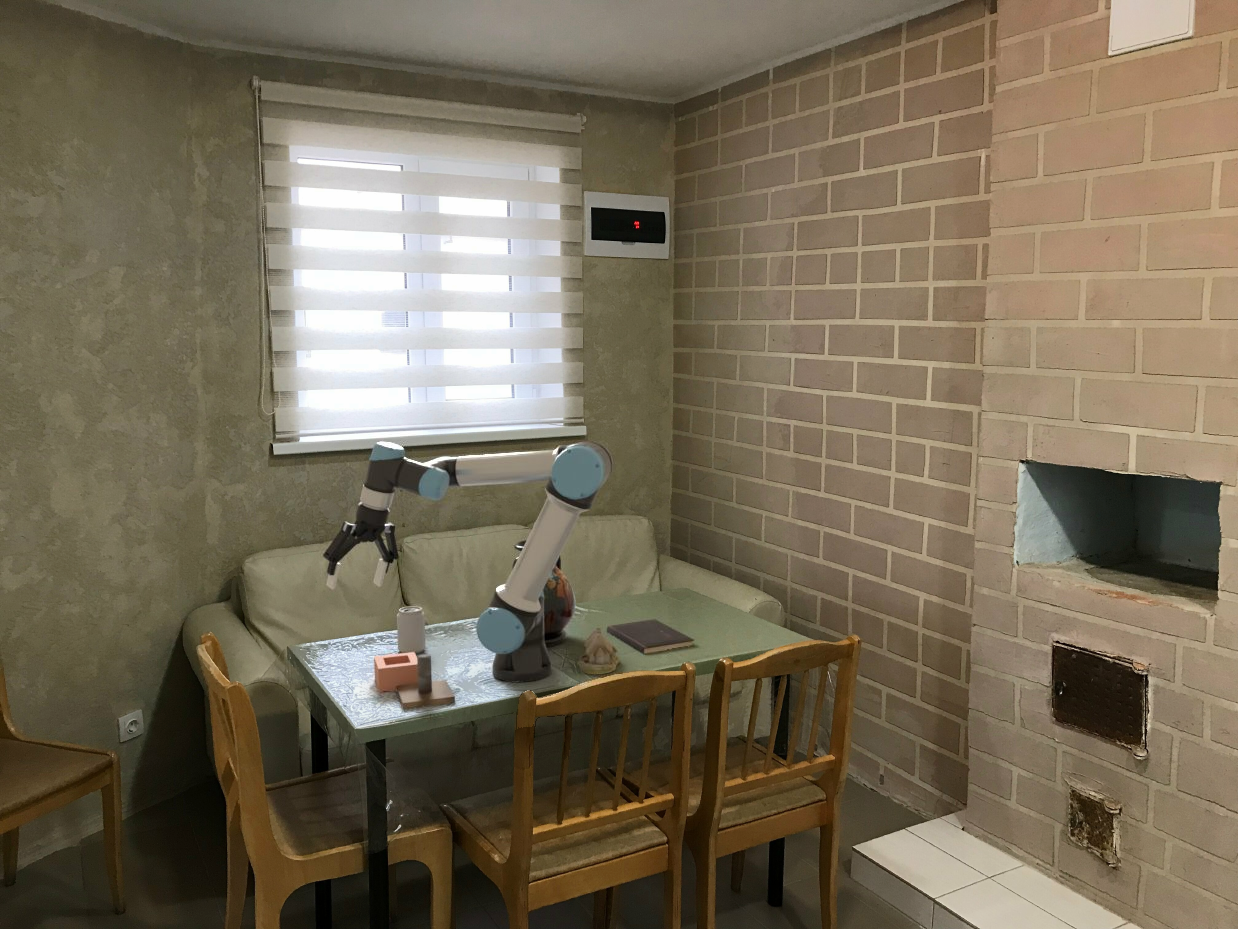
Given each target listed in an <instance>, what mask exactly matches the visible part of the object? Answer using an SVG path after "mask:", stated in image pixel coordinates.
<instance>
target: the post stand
mask: <svg viewBox="0 0 1238 929" xmlns="http://www.w3.org/2000/svg"><path fill="white" fill-rule="evenodd" d="M416 656H417V666H418V684H409V685H401V686H396V689H397V691H396V694H397V697H398V699H400V700H399V702H400V704H402V705H401V707H403V708H402V709H403V710H408V708H410V709H417V708H423V707H422V706H425V707H433V706H438V705H445V704H446V705H447V704H448V705H449V704H452V702H455V703H456V696H455V694H454V693H453V690H452V689H451V687H450V685H449V683H448V681H447V680H446V679H443V680H435V681H434V680H432V678H433V677H432V675H433V674H432V656H431V654H419V655H416ZM415 707H416V708H415ZM405 708H407V709H405Z"/></svg>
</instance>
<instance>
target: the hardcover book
mask: <svg viewBox="0 0 1238 929" xmlns="http://www.w3.org/2000/svg"><path fill="white" fill-rule="evenodd" d="M606 633H607V634H609V633H610V634H609V635H611V636H613V637H614V636H615V637H614V638H616V639H618V640H619V639H620V640H619V641H621V642H622V643H624V644H626V645H627V646H628V647H631V648H632V647H633V649H634V650H635V651H638V652H639V653H641V654H643V655H644V654H650V653H656V652H657V653H658V652H661V651H668V650H667V649H669V650H673V649H672V648H676V649H678V648H677V647H682V648H684V647H683V646H687V645H688V647H690V646H689V645H692V646H693V642H694V641H695V639H694V638H691V637H690V636H688V635H686V634H684V633H683V632H680V631H678V630H676V629H674V628H672V627H671V626H669V625H667V624H665V623H663V622H661V621H659V620H657V619H655V618H654V619H647V620H639V621H633V622H626V623H619V624H612V625H608V626H607V627H606Z"/></svg>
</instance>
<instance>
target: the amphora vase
mask: <svg viewBox="0 0 1238 929" xmlns="http://www.w3.org/2000/svg"><path fill="white" fill-rule="evenodd" d="M526 541H527V539H526V540H521V541H517V542H516V543H514V544H513V549H514V550H515V551H517V552H519V554H520V553H521V551H522V549H523V547H524V545H525V543H526ZM518 558H519V556H518V557H515V559H514V560H513V562H512V568H511V571H512V570H513V568H514V566H515V564H516V562H517V560H518ZM508 578H509V576H508V577H507V579H506V581H505V583H504V584H506V582H507V580H508ZM543 593H544V642H545V645H546V648H547V647H553V646H556V645H559V644H561V643H563V642H564V641H565V640H566V639H567V638H568V637H567V636H568V633H567V631H566V630H565V629H566V628H567V627H568V626H569V624H571V622H572V620H573V619H574V615H575V613H576V596H575V591H574V589H573V586H572V584H571V581H570V580H569V578H568V577H567V576H566V575H565V573H564V572H563V571H562V559H561V555H560V556H559V558H558V560H557V562H556V564H555V566H554V568H553V570H552V572H551V574H550V576H549V578H548V580H547V582H546V584H545V586H544V588H543Z"/></svg>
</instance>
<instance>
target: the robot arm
mask: <svg viewBox="0 0 1238 929" xmlns="http://www.w3.org/2000/svg"><path fill="white" fill-rule="evenodd" d="M405 453H406V450H405V448H404V447H402V446H401V445H399V444H396V443H393V442H387V441H379V442H376V443H375V444H374V445H373V447H372V451H371V453H370V457H369V459H368V466H367V469H366V474H365V478H364V482H363V485H362V486H363V487H362V490H361V494H360V498H359V501H360V502H358V505H357V509H356V513H355V522H353V523H349V522H348V521H344V522H343V523H342V525H341V528H340V531H339V532H338V533H337V534H336V536H335V538H334V539H333V540H332V541H331V543H330V544H329V546H328V547H327V549H326V550H325V551H324V552H323V554H322V557H323V558H324V559H325V560H327V561H328V565H327V570H326V574H327V575H328V576H327V579H326V583H325V585H326V586H327V587H328V588H329V589H331V590H336V585H337V581H338V577H339V573H340V568H341V565H342V564H341V562H340V561H341V560H343V559H344V557H346V555H348V554H349V552H350V551H351V550H353V548H354V547H356V546H357V545H359V544H360V543H361V542H362V543H374V544H375V546H376V547H377V549H378V552H379V553H380V556H381V557H382V558H379V559H378V562H377V565H376V566H377V567H376V570H375V574H374V578H373V584H374V585H375V586H377V587H378V588H382V586H383V583H384V579H385V575H386V574H387V573H388V571H389V567H390V564H393V563H394V560H396V561H397V560H398V559H399V553H398V547H397V542H396V535H395V531H396V525H394V524H393V523H392V522H389V521H388V519H389V514H390V508H391V507H392V503H393V500H394V496H395V492H396V489H399V490H402V491H406V492H409V493H411V494H414V495H417V496H420V497H421V498H424V499H428V500H429V499H430V500H434V501H439V500H442V498H443V497H444V496H445V494H446V493H447V490H448V488H458V487H467V486H468V487H471V486H472V487H473V486H487V485H504V484H521V483H522V484H523V483H536V482H537V483H538V482H547V483H546V485H545V487H544V490H545V493H546V495H547V498H546V500H545V501H544V504H543V506H542V508H541V510H540V511H539V515H538V517H537V518H536V521H535V522H534V525H533V527H532V528H531V531H530V533H529V535H528V536H527V539H526V540H527V541H526V543H525V545H524V547H523V549H522V551H521V553H520V552H519V556H518V557H519V558H518V560H517V562H516V564H515V566H514V568H513V570H512V569H511V572H510V574H509V576H508V577H509V578H508V577H507V579H508V580H507V579H506V580H507V582H506V581H505V582H506V584H505V583H503V584H500V585H499V586H497V587H496V589H495V590H494V592H493V595H492V597H491V599H490V600H489V603H488V605H487V607H486V609H485V610H483V611H482V612H481V614H480V615H479V616H478V619H477V621H476V627H475V628H476V630H475V632H476V635H477V637H478V641H479V642H480V644H481V645H482V647H484V648H485V649H487V650H488V651H490V652H491V653H494V654H495V655H494V659H493V661H492V665H491V666H492V667H491V668H492V669H491V671H492V675H494V676H493V677H495V678H496V677H497V678H496V679H498V678H499V680H501V679H502V680H501V681H505V680H507V681H506V682H512V681H519V682H520V683H521V681H524V682H523V683H525V682H533V681H537V680H541V679H543V678H547V677H548V676H550V675H551V674H552V672H553V670H552V668H553V666H552V660H551V657H550V655H549V651H548V648H547V647H546V645H545V642H544V593H543V588H544V586H545V584H546V582H547V580H548V578H549V576H550V574H551V572H552V570H553V568H554V566H555V564H556V562H557V560H558V558H559V556H560V557H561V553H562V552H563V550H564V547H565V545H566V543H567V541H568V539H569V537H570V535H571V534H572V531H573V530H574V527H575V525H576V523H577V522H578V519H579V517H580V515H581V514H582V513H584V512H585V513H586V512H587V511H590V509H591V507H592V505H593V504H594V502H595V500H596V497H597V495H598V494H599V492H600V489H601V488H602V487H603V485H604V484H606V482H607V481H609V479H610V478H611V475H612V474H613V473H612V472H613V469H614V460H613V456H612V454H611V453H610V451H609V449H607V447H606V446H605V445H603V444H601V443H600V442H597V441H593V440H592V441H591V440H586V441H581V442H575V443H571V444H563V445H562V444H561V445H558V446H557V447H556V449H551V450H538V451H537V450H535V451H534V450H533V451H522V452H508V453H507V452H506V453H494V454H491V453H490V454H483V455H482V454H480V455H479V454H478V455H465V456H464V455H463V456H452V457H451V456H438V457H437V458H435V459H431V460H428V461H426V462H419V461H416V460H413V459H410V458H408V457H406V456H405ZM382 533H384V536H385V541H386V544H385V542H384V538H383V537H382ZM519 682H518V683H519Z"/></svg>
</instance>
